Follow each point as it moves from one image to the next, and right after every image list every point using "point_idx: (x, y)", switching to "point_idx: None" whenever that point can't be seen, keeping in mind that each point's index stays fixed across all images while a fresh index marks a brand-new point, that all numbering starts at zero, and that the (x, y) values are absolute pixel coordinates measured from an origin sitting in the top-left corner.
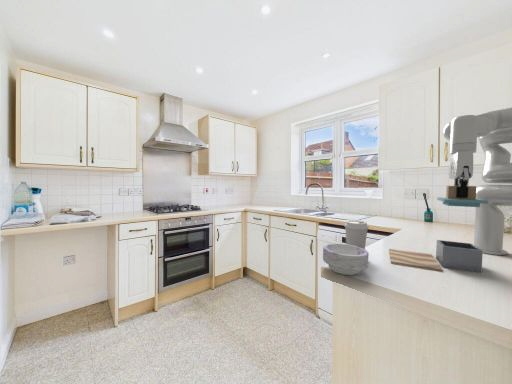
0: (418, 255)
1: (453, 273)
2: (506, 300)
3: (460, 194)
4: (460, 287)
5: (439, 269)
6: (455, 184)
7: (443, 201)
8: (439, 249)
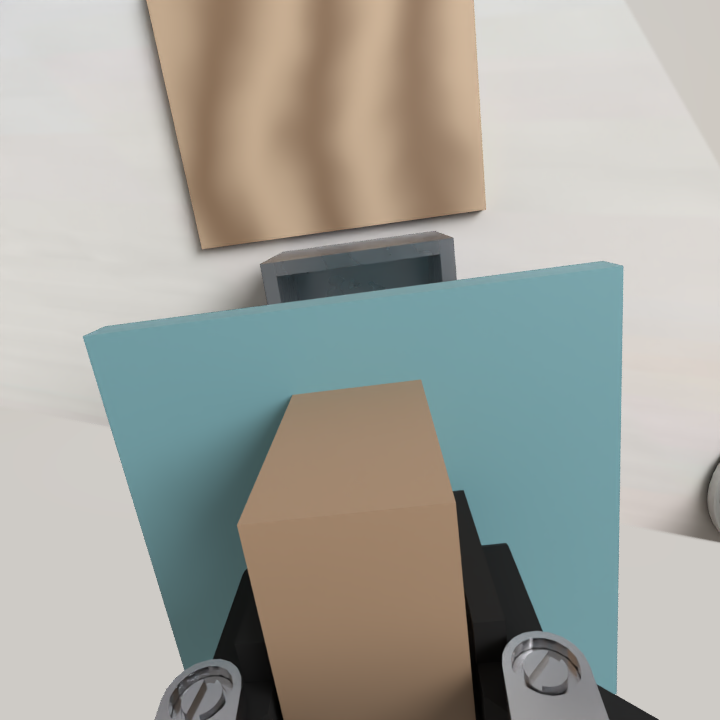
0: (399, 138)
1: (211, 290)
2: (28, 409)
3: (247, 573)
4: (38, 297)
5: (201, 237)
6: (509, 697)
7: (148, 321)
8: (356, 247)
